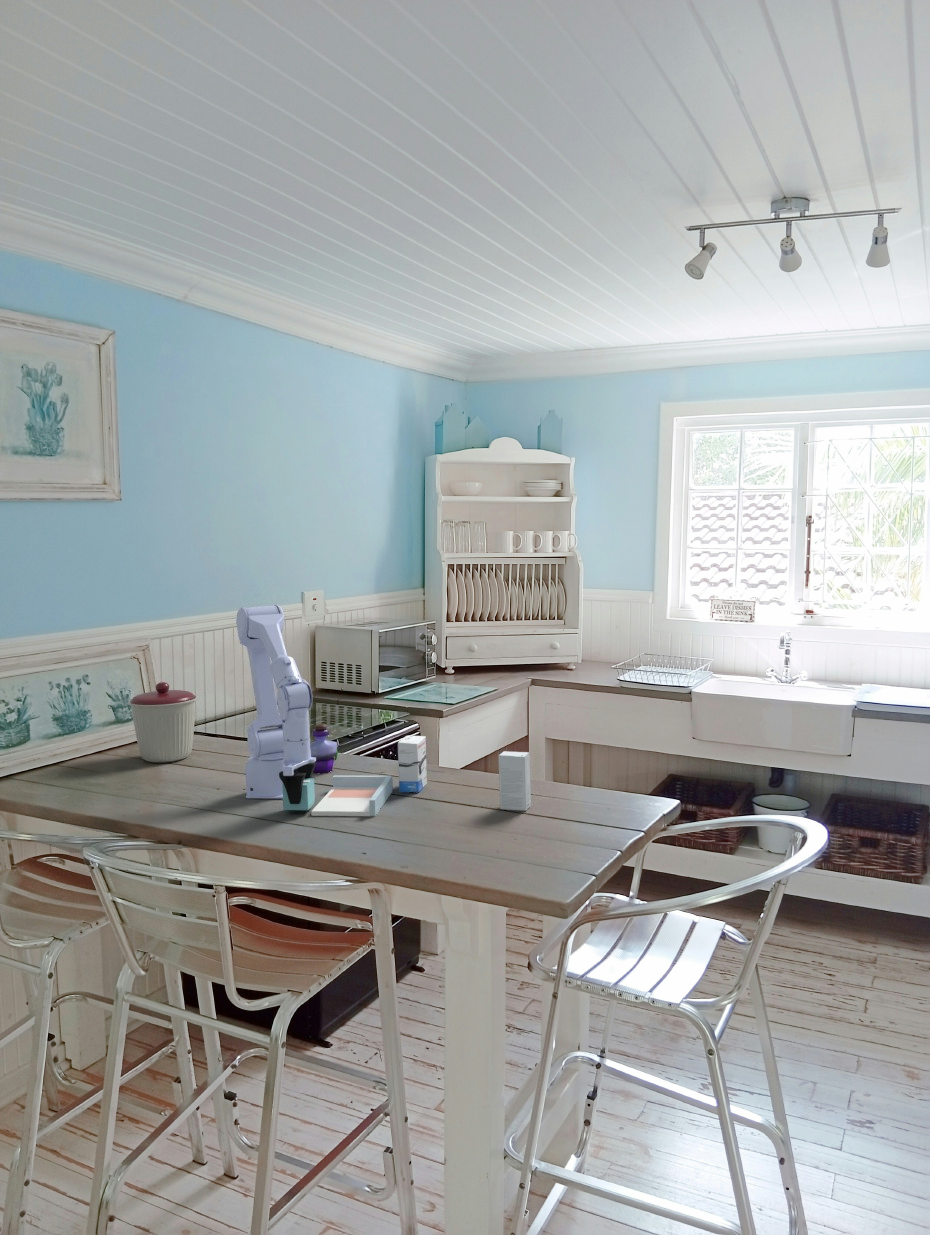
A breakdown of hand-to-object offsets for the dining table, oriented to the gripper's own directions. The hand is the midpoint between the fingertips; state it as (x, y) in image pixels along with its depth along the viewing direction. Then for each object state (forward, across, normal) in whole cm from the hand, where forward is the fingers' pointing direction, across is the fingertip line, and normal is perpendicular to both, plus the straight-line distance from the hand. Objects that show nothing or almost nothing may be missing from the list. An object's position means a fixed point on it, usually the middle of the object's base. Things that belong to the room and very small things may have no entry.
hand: (299, 799), depth 212 cm
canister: (+3, +47, +51) cm, 69 cm away
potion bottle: (+3, +34, +4) cm, 34 cm away
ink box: (+3, +19, -22) cm, 29 cm away
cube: (+2, 0, 0) cm, 2 cm away
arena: (+3, +8, -11) cm, 13 cm away
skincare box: (+3, +4, -47) cm, 47 cm away
